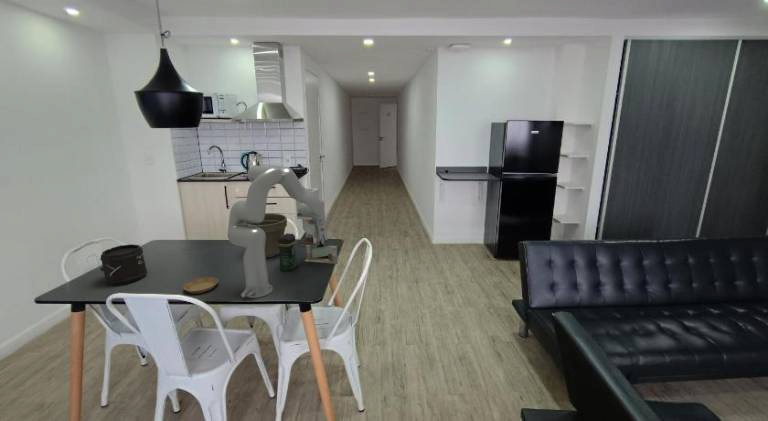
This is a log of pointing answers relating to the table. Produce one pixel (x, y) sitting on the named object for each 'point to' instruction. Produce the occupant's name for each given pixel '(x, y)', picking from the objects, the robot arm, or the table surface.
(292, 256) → the coffee jar
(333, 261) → the gate frame
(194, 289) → the plant saucer
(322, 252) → the gate
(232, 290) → the table surface
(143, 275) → the black round bag
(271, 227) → the plant pot
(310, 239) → the display case
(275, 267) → the table surface
